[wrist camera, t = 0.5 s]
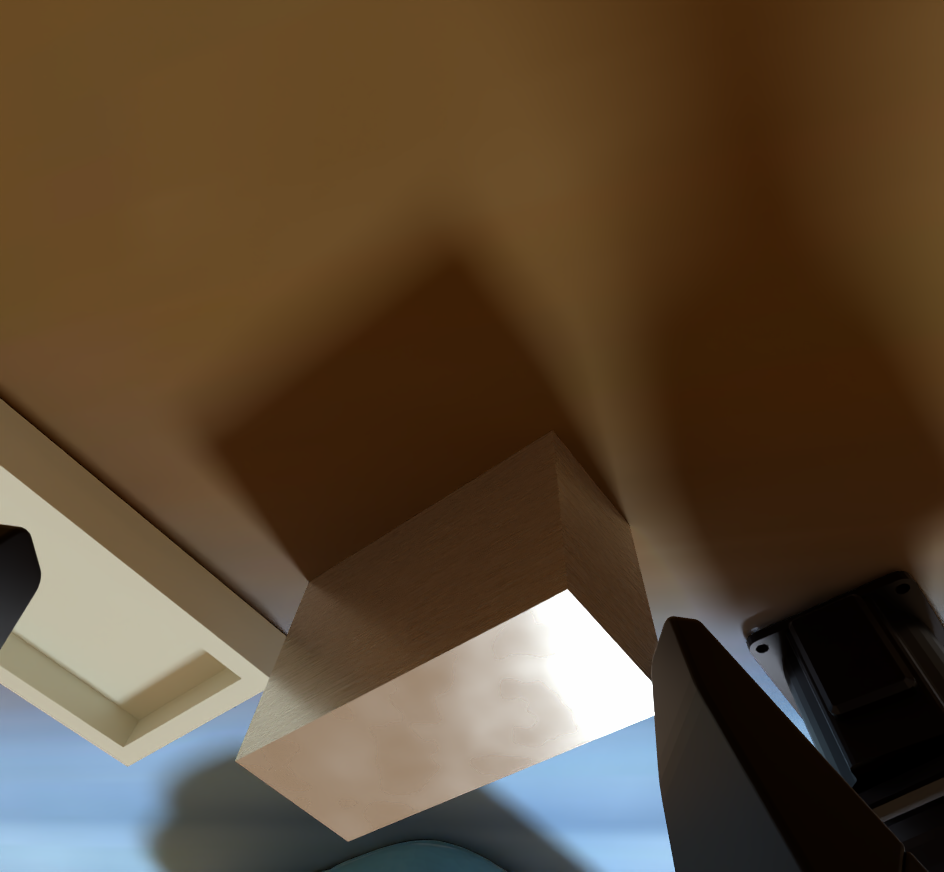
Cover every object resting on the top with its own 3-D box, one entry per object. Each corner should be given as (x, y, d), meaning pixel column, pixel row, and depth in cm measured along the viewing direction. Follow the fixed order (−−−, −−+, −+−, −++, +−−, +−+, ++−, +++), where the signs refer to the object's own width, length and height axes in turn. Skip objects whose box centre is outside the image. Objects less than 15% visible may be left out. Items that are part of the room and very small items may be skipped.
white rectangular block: (629, 524, 24) (673, 706, 17) (390, 652, 28) (348, 841, 21) (552, 428, 22) (567, 589, 15) (309, 580, 27) (235, 761, 20)
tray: (292, 641, 28) (276, 683, 26) (151, 724, 32) (127, 766, 30) (-117, 301, 21) (-179, 323, 20) (-240, 453, 25) (-303, 485, 23)
